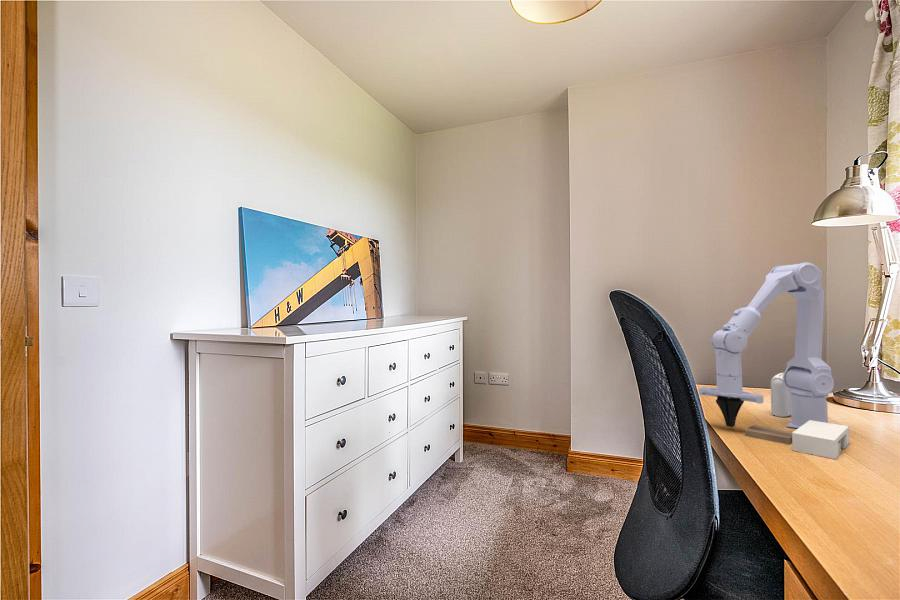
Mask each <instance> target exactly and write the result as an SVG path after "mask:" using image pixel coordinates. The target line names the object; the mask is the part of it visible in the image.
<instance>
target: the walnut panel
mask: <svg viewBox="0 0 900 600" xmlns="http://www.w3.org/2000/svg"><path fill="white" fill-rule="evenodd" d="M792 432H793V431H791V430H786V429H780V428H775V427H769V426H764V425H759V424H758V425H757V424H753V425H751V426H749V427H748V428H746V429H744V436H745V437H749V438H754V439H759V440H764V441H768V442H774V443H779V444H784V445H789V446H790V445H792Z"/></svg>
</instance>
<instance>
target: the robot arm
mask: <svg viewBox="0 0 900 600" xmlns="http://www.w3.org/2000/svg"><path fill="white" fill-rule="evenodd" d="M822 281H823V271H822V270H821V269H820V268H819V267H818V266H816V265H815V264H814V263H813V262H812V263H811V262H807V261H805V262H802V263H795V264H787V265H776V266H775V267H774V266H773V268H772V269H771V270H770V272H769V273H768V274H766V276H765V280H764V283H763V284H762V286H761V287H760V289H759V290H758V291H757V293H756V294H755V295H754V297H753V298H752V300H751V301H750V302H749V304H748V305H747V306H746V307H739V309H735V310H734V312H733V316H732V317H731V318H730V319H729V320H728V321H727V323H724V325H723V326H722V329H719V330H717V331H715V332H714V333H713V334H712V335H713V336H712V337H711V339H709V343H710V346H711V347H712V348H713V349H714V355H715V366H716V367H715V369H716V370H715V371H716V387H714V388H713V387H706V386H705V387H704V386H703V387H702V386H701V387H699V388H698V395H699V396H708V397H715V398H716V399H715V402H716V405H717V406H718V408H719V409H720V411H721V414H722V415H723V418H724V422H725V426H726V427H730V428H733V427H735V426H736V421H737V417H738V414H739V412H740V410H741V408H742V405H744V402H752V403H755V404H763V403H764V395H763V394H759V393H758V394H757V393H752V392H748V391H743V369H742V367H743V365H742V352H743V350H745V349H746V347H747V346H748V339H749V336H750V335H751V333H752V332H753V331H755V329H756V327H757V326H758V325H759V324H760V323H761V321H762V317H761V314H762V313H763V311H765V309H766V308H768V306H770V305H771V303H772V302H774V300H776V299H777V297H778V296H779V295H781V293H785V292H786V293H787V294H790V295H791V296H792V297H794V298H795V299H796V300H797V301H796V319H795V321H796V322H795V323H796V324H795V341H794V343H795V344H794V356H793V357H792V358H791V359H790V360H789V361H787V362H786V368H785V371H784V372H783V373H784V374H783V382H784V384H785V385H786V386H787V387H788V388H789V391H790V392H791V415H790V416H791V421H790V422H789V423H787V424H786V427H789V428H794V429H798V428H799V427H801V426H802V425H804V424H805V423H806V422H808V421H809V420H812V421H819V422H825V423H829V413H828V410H829V409H828V408H829V407H828V401H827V397H829V395H830V394H831V393H832V392H833V389H834V388H835V381H834V378H833V376H832V368H831V366H829V365H828V364H827V362H825V361H824V360H823V358H822V355H823V354H822V352H823V333H824V313H825V290H824V288H823V287H824V286H823V285H822V284H823V282H822Z"/></svg>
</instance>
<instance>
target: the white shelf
mask: <svg viewBox="0 0 900 600" xmlns="http://www.w3.org/2000/svg"><path fill="white" fill-rule="evenodd" d="M850 441H851V440H850V426H849V425H843V424H836V423H832V422H831V423H830V422H828V423H825V422H819V421H812V420H809V421H808V422H806V423H805V424H804V425H802V426H801V427H799V428H796V429H795V430H794V431H792V443H791V447H792V451H793V452H797V451H798V453H803V454H808V455H812V454H813V456H817V457H822V458H826V457H827V459H831V460H837V458H838V457H839V456H840V454H841V453H842V449H844V450H845V449H846V447H848V445H849V444H850Z"/></svg>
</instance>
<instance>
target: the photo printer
mask: <svg viewBox="0 0 900 600" xmlns="http://www.w3.org/2000/svg"><path fill="white" fill-rule="evenodd" d="M783 374H784V372H780V373H777V374H775V375H774V376H773V377H772V378H771V380H770V406H771V407H770V411H771V414H772V415H773V416H774V415H775V417H781V418H784V417H789V416H791V392H790V391H789V388H788V387H787V386H786V385H785V384H784V382H783Z"/></svg>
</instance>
